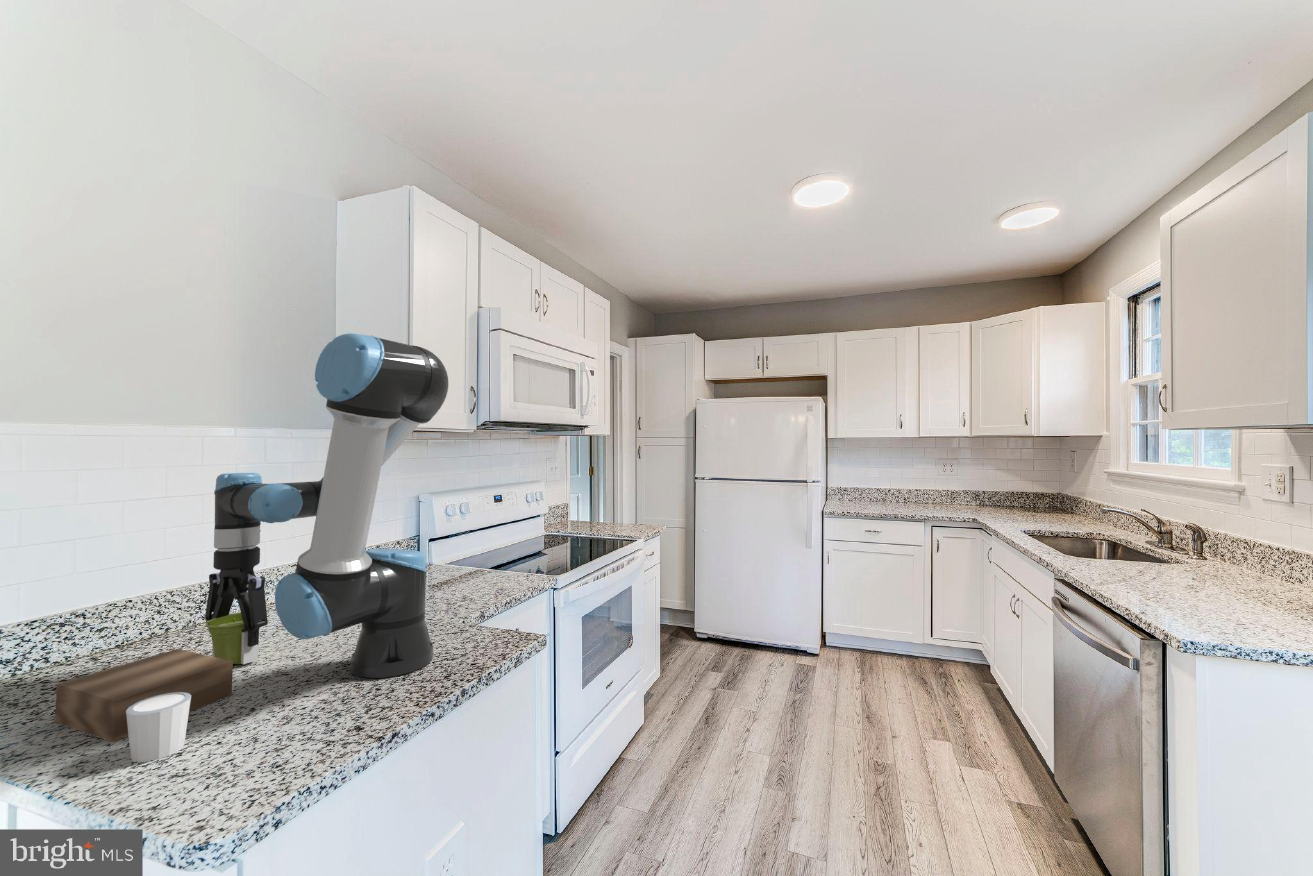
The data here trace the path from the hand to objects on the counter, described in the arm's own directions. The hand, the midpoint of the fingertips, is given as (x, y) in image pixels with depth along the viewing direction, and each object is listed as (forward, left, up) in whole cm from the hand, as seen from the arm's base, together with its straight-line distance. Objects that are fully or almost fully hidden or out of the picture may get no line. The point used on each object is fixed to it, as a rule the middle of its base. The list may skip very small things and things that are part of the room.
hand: (235, 658), depth 108 cm
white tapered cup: (-25, +25, -1) cm, 35 cm away
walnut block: (-8, +18, -1) cm, 20 cm away
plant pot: (0, 0, -1) cm, 1 cm away
